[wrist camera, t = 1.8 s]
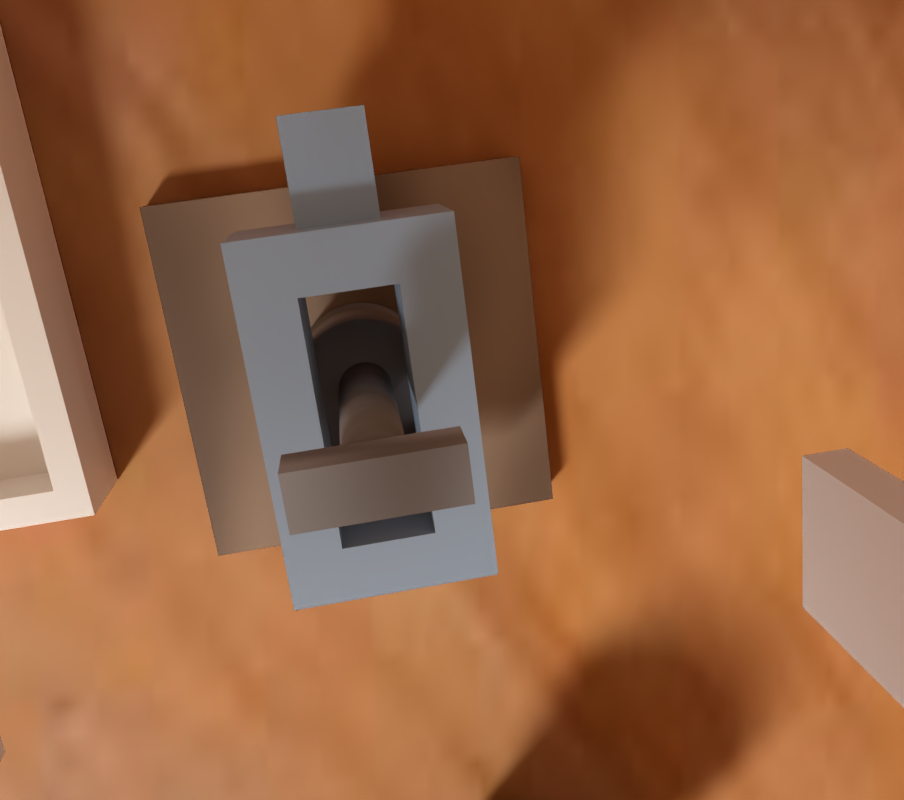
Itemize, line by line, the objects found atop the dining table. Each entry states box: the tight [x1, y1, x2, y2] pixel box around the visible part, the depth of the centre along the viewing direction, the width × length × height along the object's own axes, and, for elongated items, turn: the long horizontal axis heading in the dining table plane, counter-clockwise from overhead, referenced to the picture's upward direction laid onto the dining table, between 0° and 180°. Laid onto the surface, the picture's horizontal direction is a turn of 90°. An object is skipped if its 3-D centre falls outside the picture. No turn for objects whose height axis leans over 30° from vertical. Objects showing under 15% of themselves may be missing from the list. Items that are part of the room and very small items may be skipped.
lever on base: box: [140, 157, 553, 556], centre depth 24 cm, size 12×12×12 cm
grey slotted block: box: [220, 105, 498, 610], centre depth 24 cm, size 13×6×3 cm, turn 7°
